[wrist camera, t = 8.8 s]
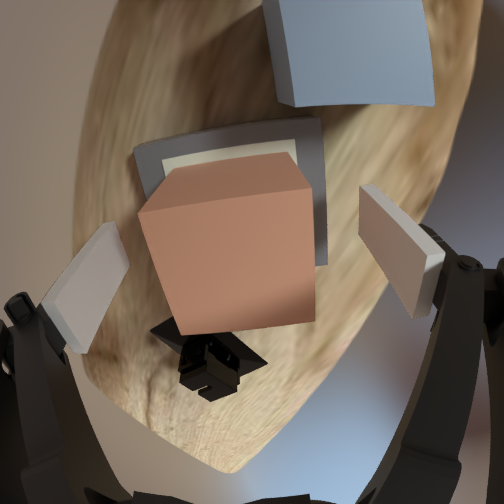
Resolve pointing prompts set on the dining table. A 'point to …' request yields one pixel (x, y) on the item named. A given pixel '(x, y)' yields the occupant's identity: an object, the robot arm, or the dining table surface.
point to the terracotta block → (234, 244)
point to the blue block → (349, 52)
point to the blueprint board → (240, 145)
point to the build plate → (209, 359)
